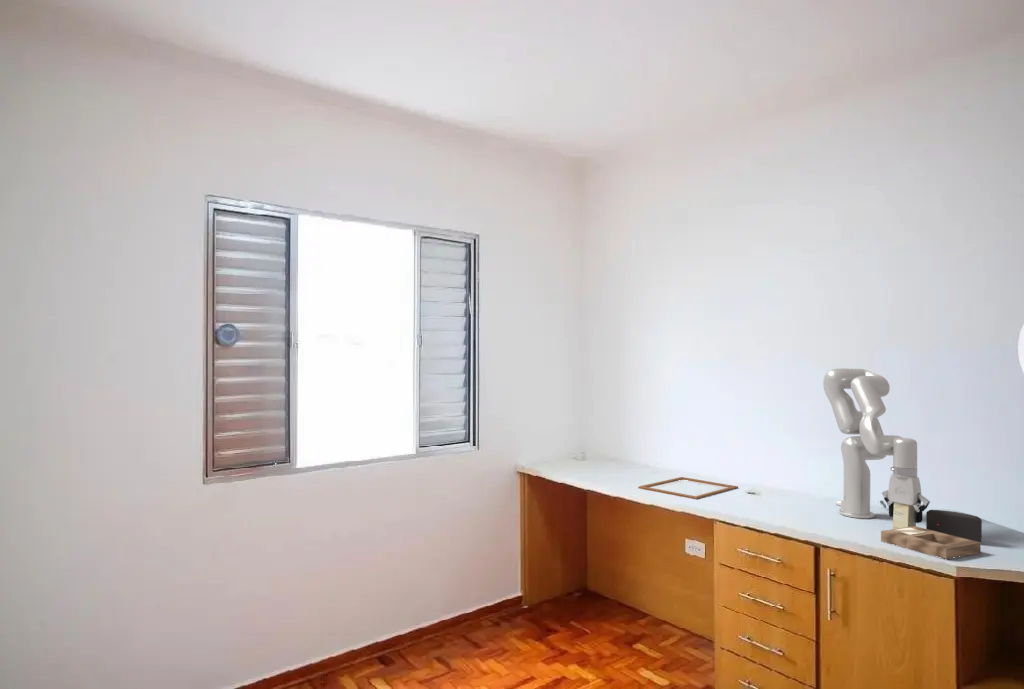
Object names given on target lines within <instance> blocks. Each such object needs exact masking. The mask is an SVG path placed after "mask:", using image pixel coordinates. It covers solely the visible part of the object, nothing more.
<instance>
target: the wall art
mask: <svg viewBox="0 0 1024 689" xmlns="http://www.w3.org/2000/svg"><path fill="white" fill-rule="evenodd" d="M679 480H680V481H679ZM681 480H682V481H681ZM683 480H688V481H686V482H687V483H692V484H697V485H704V486H709V487H715V488H717V489H714V490H710V491H706V492H703V493H697V494H695V495H691V494H687V493H685V494H684V493H680V492H676V491H669V490H663V489H659V488H662V487H667V486H671V485H675V484H676V485H677V484H680V483H681V484H682V483H684V481H683ZM637 489H640V490H641V489H642V490H644V491H650V492H655V493H661V494H667V495H670V496H675V497H676V496H677V497H681V498H687V499H691V500H692V499H693V500H700V499H704V498H708V497H711V496H715V495H718V494H723V493H726V492H730V491H734V490H737V489H739V486H738V485H732V484H726V483H722V482H721V483H720V482H714V481H709V480H702V479H696V478H689V477H685V476H684V477H683V476H681V477H680V476H679V477H674V478H671V479H670V478H669V479H667V480H662V481H656V482H652V483H648V484H643V485H639V486H638V488H637Z"/></svg>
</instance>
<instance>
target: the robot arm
mask: <svg viewBox="0 0 1024 689" xmlns="http://www.w3.org/2000/svg"><path fill="white" fill-rule="evenodd" d="M822 383H823V384H822V385H823V391H824V393H825V395H826V397H827V400H828V401H829V403H830V405H831V409H832V412H833V414H834V417H835V421H836V424H837V427H838V430H839V431H840V432H841V433H842V434H845V435H852V436H848V437H846V438H845V439H843V440H842V442H841V446H840V449H841V455H842V461H843V500H837V501H836V503H835V505H836V507H837V506H838V507H840V509H839V513H838V514H840V515H842V516H845V517H848V518H855V519H867V520H868V519H873V518H875V513H874V512H873V511H871V470H870V467H869V465H868V464H867V462H866V461H873V460H874V461H880V460H883V459H885V458H886V457H887V456H891V457H892V458H893V464H892V466H891V467H890V471H892V474H891V475H890V477H889V482H888V489H887V490H884V491H882V492H881V495H882V496H883V500H884V502H886V505H887V506H888V516H889V517H891V518H893V512H894V502H896V503H900V504H905V505H913V507H914V508H915V510H916V511H915V523H916V524H918V523H922V522H923V512H924V511H925V510H926V509H927V508H928V507H929V505H930V504H931V501H930V500H929V499H927V498H926V497H925V496H923V494H922V486H921V482H920V477H918V442H917V440H916V439H913V438H908V437H903V436H900V435H891V434H889V435H888V434H887V435H886V434H885V435H884V431H883V428H882V424H880V420H879V418H880V417H881V416H883V415H884V414H886V410H887V408H886V405H885V402H883V400H882V397H886V396H888V395H889V393H890V391H891V390H890V389H891V388H890V383H889V381H888V380H887V379H886V378H885V377H884V376H882V375H880V374H877V373H875V372H872V371H869V370H868V369H864V368H846V367H845V368H843V367H842V368H833V369H831V370H828V371H827V372H826V373H825V375H824V377H823V382H822ZM845 389H847V390H851V392H852V394H853V396H854V399H855V400H856V402H857V405H858V407H859V410H858V409H857V407H856V405H855V402H854V400H853V397H851V395H850V394H849V393H848V392H847V391H846V390H845ZM853 435H854V436H853ZM855 435H856V436H855Z"/></svg>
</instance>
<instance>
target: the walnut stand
mask: <svg viewBox="0 0 1024 689" xmlns="http://www.w3.org/2000/svg"><path fill="white" fill-rule="evenodd" d="M882 541H883V543H885V542H886V544H889V543H890V545H892V544H894V545H893V546H896V545H898V546H897V547H899V546H901V547H900V548H903V547H904V549H906V548H908V549H907V550H910V549H911V550H910V551H913V550H915V551H914V552H917V551H919V552H918V553H920V552H923V553H922V554H924V553H926V554H925V555H927V554H930V555H929V556H931V555H934V556H938V557H941V558H945V559H948V560H950V559H949V558H953V557H958V558H962V557H961V556H964V557H967V556H966V555H969V556H973V554H974V555H978V553H979V554H981V549H982V548H981V546H982V545H981V543H982V542H981V543H980V542H976V541H972V540H968V539H964V538H960V537H956V536H952V535H948V534H944V533H940V532H936V531H932V530H928V529H926V528H925V527H924V528H923V527H920V526H917V525H916V526H911V527H905V528H898V529H893V528H892V529H887V530H881V531H880V542H882ZM934 556H933V557H934ZM959 556H960V557H959ZM938 557H937V558H938ZM941 558H940V559H941ZM945 559H944V560H945ZM953 559H954V558H953Z"/></svg>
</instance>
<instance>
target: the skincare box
mask: <svg viewBox="0 0 1024 689" xmlns="http://www.w3.org/2000/svg"><path fill="white" fill-rule="evenodd" d="M915 511H916V510H915V508H914V507H913V505H905V504H900V503H896V502H894V512H893V517H892V519H893V520H892V529H898V528H905V527H911V526H916V527H917V523H915Z"/></svg>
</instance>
